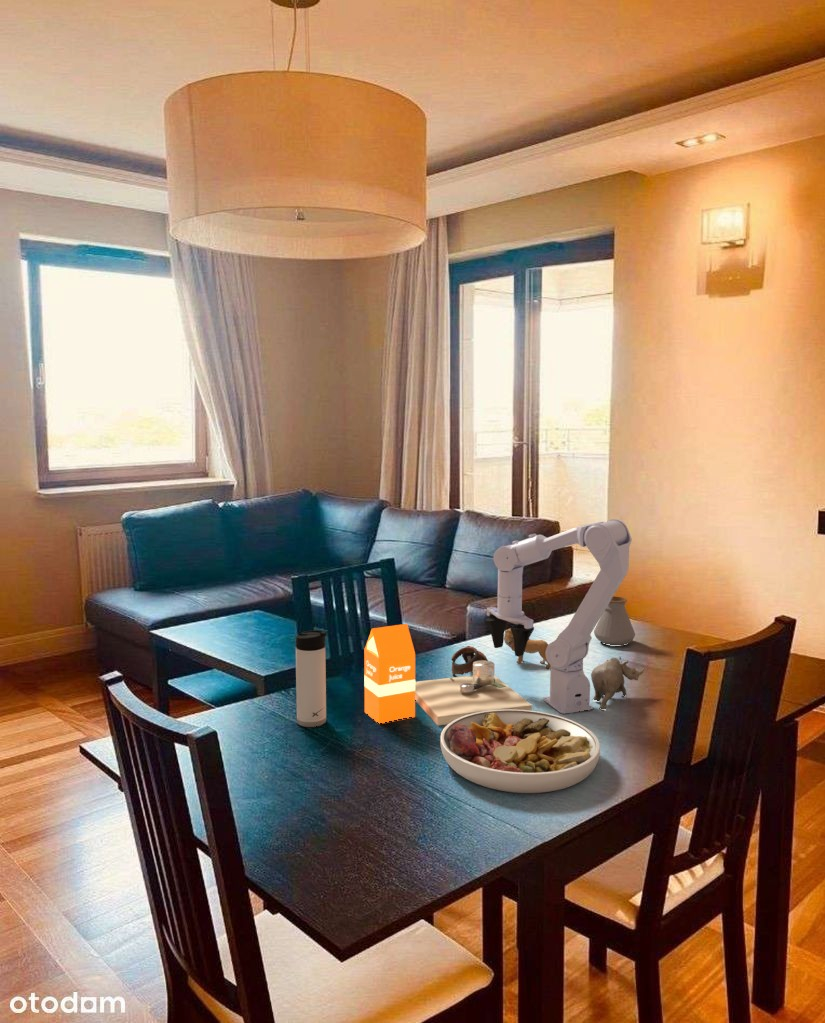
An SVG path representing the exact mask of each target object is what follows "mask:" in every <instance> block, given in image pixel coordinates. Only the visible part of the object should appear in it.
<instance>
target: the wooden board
mask: <svg viewBox="0 0 825 1023" xmlns="http://www.w3.org/2000/svg"><path fill="white" fill-rule="evenodd" d="M494 679H495V683H494V684H492V685H488V686H484V687H481V688H479V689H476V690H474V692H473V693H471V694H464V693H461V692H460V684H463V683H471V684H474V683H473V675H464V676H456V677H455V676H453V677H446V678H437V679H430V680H429V679H427V680H419V681H415V700H416V701H415V703H417V704H418V706H420V708H421V709H422V710H423V711H424V712H425V713H426V714H427V715H428V716H429V718H430V719H431V720H432V721H433V722H434V723H435V724H436V726H447V725H448V724H449V723H451V722H452V721H454V720H456V719H458V718H460V717H463V716H465V715H469V714H472V713H477V712H482V711H489V710H502V709H516V710H530V711H533V705H532V703H530V702H528V701H527V700H526V699H525V698H523V696H521V695H520V694H518V692H516V691H515V690H514V689H513V688H511V687H510V686H509V685H507V684H506V683H505V681H503V680H501V679H500V678H499V677H497V676H496V675H495V674H494Z"/></svg>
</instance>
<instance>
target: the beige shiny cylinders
mask: <svg viewBox="0 0 825 1023" xmlns="http://www.w3.org/2000/svg"><path fill="white" fill-rule="evenodd" d="M494 675H495V662H493V661H491V660H490V661H489V660H488V661H485V660H481V661H475V662H473V671H472V676H473V683H474V684H471V683H463V684H460V692H461V693H464V694H471V693H473V692H474V690H476V689H479V688H481V687H484V686H488V685H492V684H494V683H495V679H494Z"/></svg>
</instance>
